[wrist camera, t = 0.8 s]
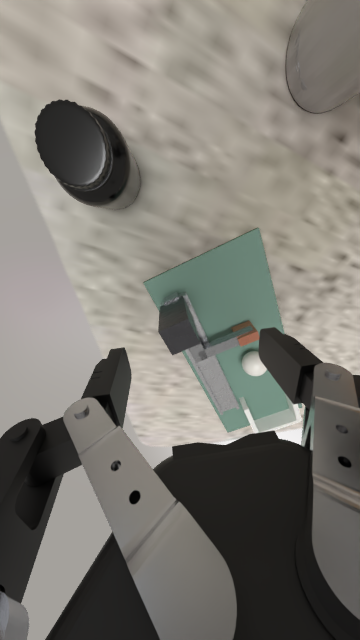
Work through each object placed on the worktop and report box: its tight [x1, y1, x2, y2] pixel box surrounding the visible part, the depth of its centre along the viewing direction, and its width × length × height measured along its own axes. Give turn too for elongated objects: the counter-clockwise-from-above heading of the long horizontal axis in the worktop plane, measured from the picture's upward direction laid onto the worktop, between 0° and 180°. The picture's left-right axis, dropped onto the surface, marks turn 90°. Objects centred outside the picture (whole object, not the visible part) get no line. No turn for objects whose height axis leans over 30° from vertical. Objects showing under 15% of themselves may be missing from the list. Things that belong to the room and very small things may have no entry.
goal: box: [239, 394, 302, 433], centre depth 43 cm, size 10×10×3 cm
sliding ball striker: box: [158, 292, 259, 363], centre depth 29 cm, size 12×12×10 cm
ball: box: [242, 351, 267, 376], centre depth 36 cm, size 4×4×4 cm
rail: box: [160, 292, 240, 415], centre depth 37 cm, size 4×28×2 cm, turn 25°
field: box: [144, 228, 302, 432], centre depth 38 cm, size 18×41×1 cm, turn 25°
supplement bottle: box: [35, 99, 140, 210], centre depth 19 cm, size 7×7×12 cm
